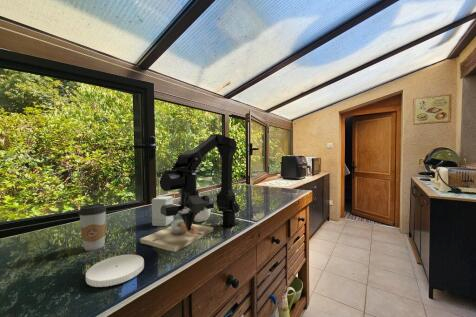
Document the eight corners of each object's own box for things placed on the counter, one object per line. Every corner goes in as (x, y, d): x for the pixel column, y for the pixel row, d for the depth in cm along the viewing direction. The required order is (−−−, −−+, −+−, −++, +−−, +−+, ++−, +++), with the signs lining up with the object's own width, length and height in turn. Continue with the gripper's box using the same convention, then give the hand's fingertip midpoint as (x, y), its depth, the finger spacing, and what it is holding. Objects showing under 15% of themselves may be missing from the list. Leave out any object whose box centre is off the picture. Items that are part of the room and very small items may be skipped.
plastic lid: (110, 296, 51) (110, 285, 51) (73, 284, 56) (73, 274, 56) (154, 267, 64) (154, 258, 64) (121, 259, 69) (120, 251, 69)
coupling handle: (168, 232, 86) (167, 221, 86) (181, 228, 91) (181, 218, 91) (189, 242, 76) (188, 230, 76) (202, 237, 80) (202, 226, 80)
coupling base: (181, 225, 100) (181, 221, 100) (214, 231, 91) (214, 227, 91) (140, 242, 81) (140, 238, 81) (176, 252, 72) (175, 247, 72)
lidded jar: (193, 216, 114) (193, 199, 114) (213, 217, 112) (213, 199, 112) (186, 223, 103) (185, 203, 103) (207, 223, 102) (207, 203, 101)
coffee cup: (78, 254, 73) (76, 210, 72) (82, 245, 80) (80, 205, 80) (106, 248, 77) (105, 206, 76) (108, 240, 84) (107, 202, 84)
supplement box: (166, 226, 99) (165, 199, 99) (151, 225, 101) (150, 198, 100) (174, 221, 106) (173, 196, 106) (160, 220, 108) (159, 195, 108)
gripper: (173, 193, 66) (173, 243, 66) (222, 187, 78) (222, 230, 78) (159, 189, 75) (159, 234, 75) (205, 184, 87) (206, 223, 87)
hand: (188, 230), depth 78 cm, fingers closed
